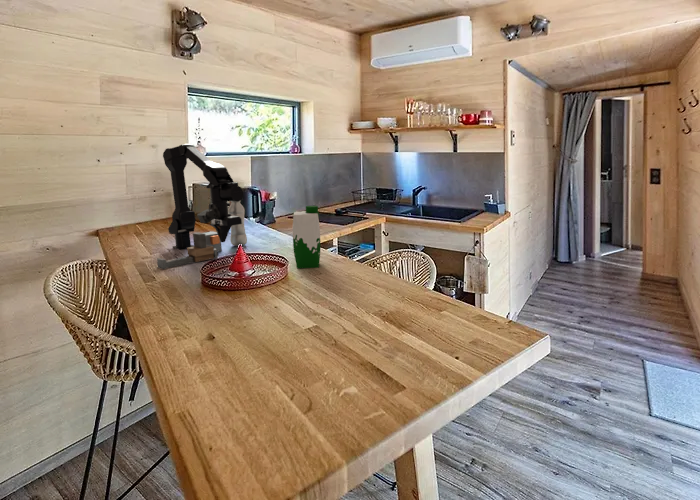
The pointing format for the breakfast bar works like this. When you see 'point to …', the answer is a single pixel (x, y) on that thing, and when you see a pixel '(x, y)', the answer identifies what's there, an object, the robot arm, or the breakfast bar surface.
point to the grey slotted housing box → (216, 246)
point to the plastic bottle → (238, 230)
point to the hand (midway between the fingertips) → (223, 242)
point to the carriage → (200, 248)
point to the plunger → (214, 239)
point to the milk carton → (306, 238)
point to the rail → (178, 261)
